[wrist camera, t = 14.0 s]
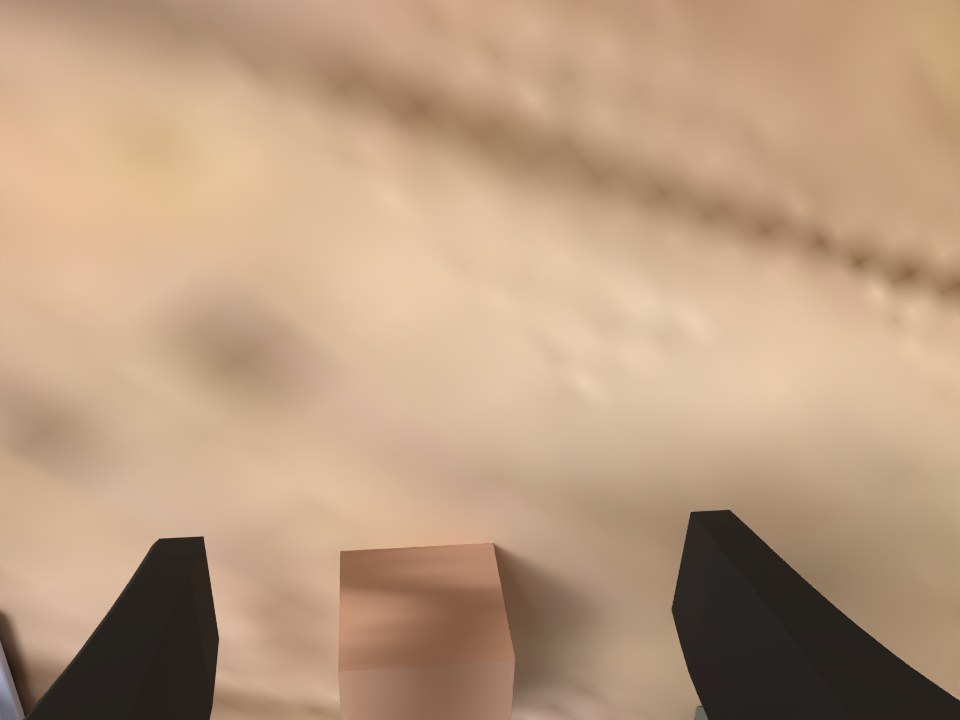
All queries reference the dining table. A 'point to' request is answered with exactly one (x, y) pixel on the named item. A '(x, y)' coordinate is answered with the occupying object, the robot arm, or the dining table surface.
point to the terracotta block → (424, 635)
